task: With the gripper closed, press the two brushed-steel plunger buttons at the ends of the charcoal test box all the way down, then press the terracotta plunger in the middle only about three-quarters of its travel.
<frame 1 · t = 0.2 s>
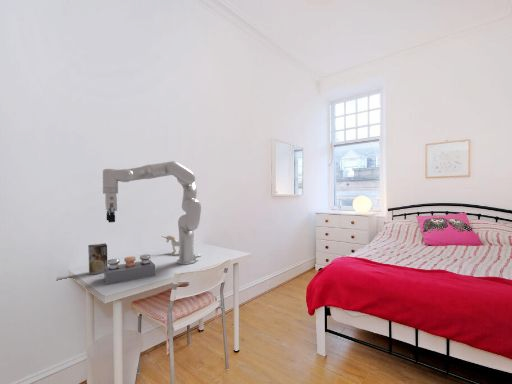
hand: (110, 221, 147), 31 cm above the table, fingers open, 9 cm apart
terracotta plunger: (130, 263, 145), point 7 cm above the table, slide at 0.0 cm
steel plunger 2: (145, 260, 150), point 8 cm above the table, slide at 0.0 cm
steel plunger 1: (113, 265, 141), point 7 cm above the table, slide at 0.0 cm
test box: (130, 276, 145), on the table
coffee box: (98, 272, 152), on the table
unicorn figurine: (174, 254, 193), on the table
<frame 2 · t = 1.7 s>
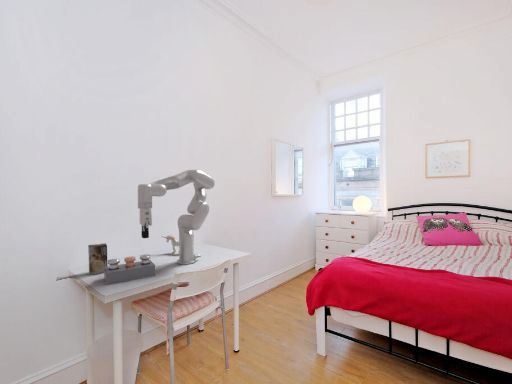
hand: (145, 237, 149), 21 cm above the table, fingers closed
nothing on the table moved.
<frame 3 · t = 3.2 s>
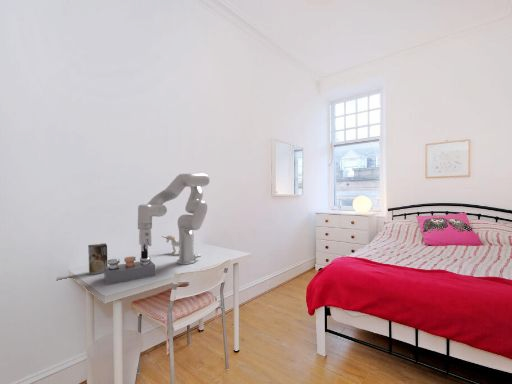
hand: (144, 257, 149), 9 cm above the table, fingers closed
steel plunger 2: (145, 262, 150), point 6 cm above the table, slide at 1.2 cm, touching gripper
everything else where it was.
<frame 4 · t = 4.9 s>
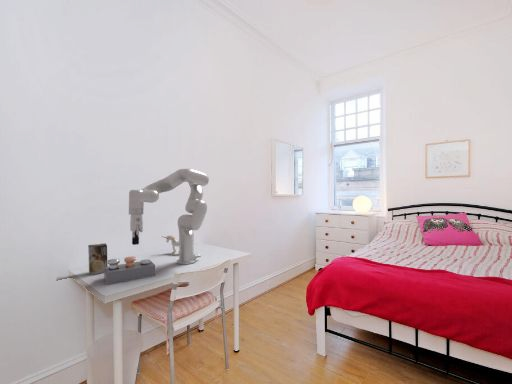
hand: (135, 244, 146), 18 cm above the table, fingers closed
steel plunger 2: (145, 265, 150), point 5 cm above the table, slide at 2.9 cm
everything else where it was.
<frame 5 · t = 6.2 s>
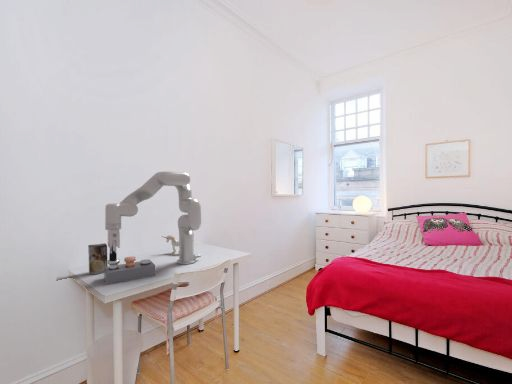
hand: (112, 260, 140), 11 cm above the table, fingers closed
steel plunger 1: (113, 265, 141), point 7 cm above the table, slide at 0.0 cm, touching gripper
everything else where it was.
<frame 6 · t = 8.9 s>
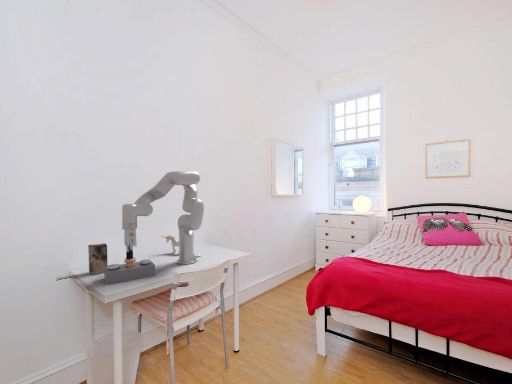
hand: (129, 258, 145), 10 cm above the table, fingers closed
terracotta plunger: (130, 264, 145), point 7 cm above the table, slide at 0.5 cm, touching gripper
steel plunger 1: (113, 271, 141), point 5 cm above the table, slide at 2.9 cm
everything else where it was.
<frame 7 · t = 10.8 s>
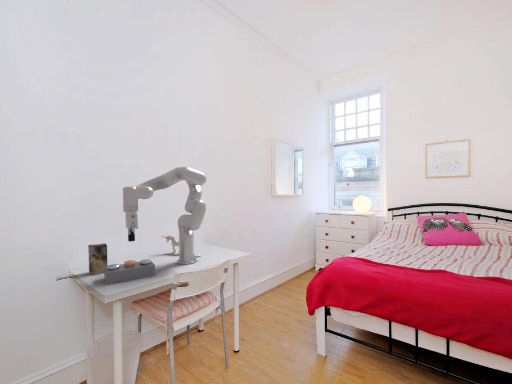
hand: (131, 240, 147), 20 cm above the table, fingers closed
terracotta plunger: (130, 266, 145), point 5 cm above the table, slide at 2.0 cm
everything else where it was.
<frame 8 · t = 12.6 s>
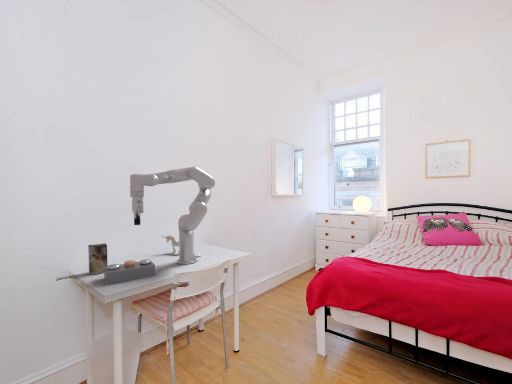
hand: (137, 224, 157), 27 cm above the table, fingers closed
nothing on the table moved.
at the end: steel plunger 2 slide at 2.9 cm; steel plunger 1 slide at 2.9 cm; terracotta plunger slide at 2.0 cm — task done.
